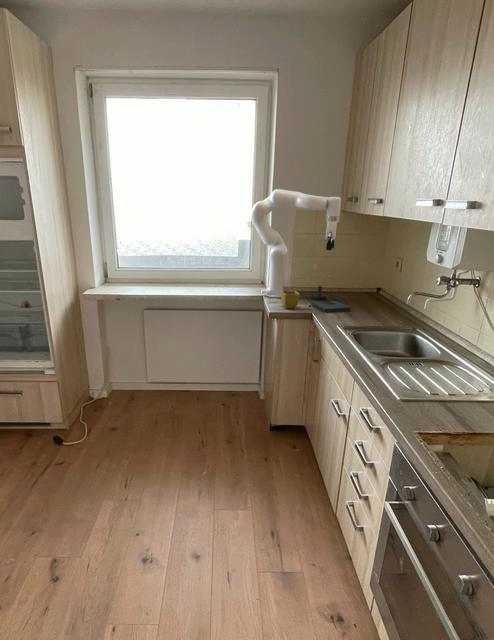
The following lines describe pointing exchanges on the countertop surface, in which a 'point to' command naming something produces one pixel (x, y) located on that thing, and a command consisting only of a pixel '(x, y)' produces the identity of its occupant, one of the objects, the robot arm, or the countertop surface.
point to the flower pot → (289, 298)
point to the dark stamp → (319, 294)
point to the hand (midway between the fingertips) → (330, 249)
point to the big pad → (331, 306)
